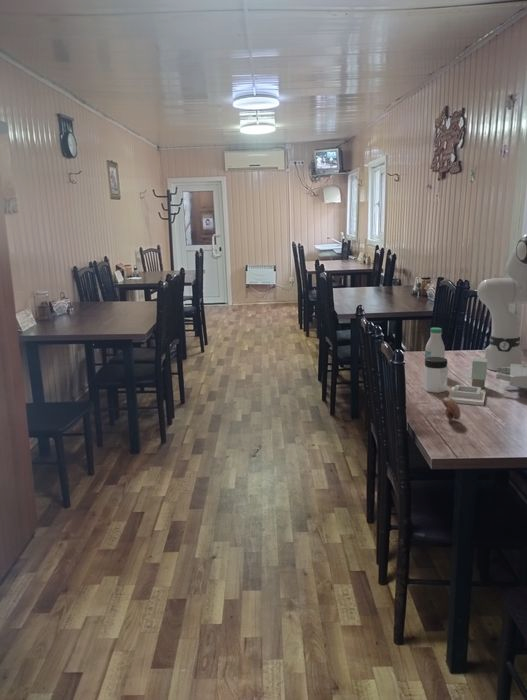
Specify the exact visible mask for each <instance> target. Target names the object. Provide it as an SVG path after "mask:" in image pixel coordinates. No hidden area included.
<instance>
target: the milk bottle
mask: <svg viewBox="0 0 527 700" xmlns="http://www.w3.org/2000/svg"><path fill="white" fill-rule="evenodd" d="M429 331H430V333H429V334H430V335H429V336H430V337H429V339H428V341H427V343H426V345H425V349H424V350H425V351H424V352H425V353H424V359H425V358H427V357H442V358H445V354H446V353H445V351H446V349H445V344H444V341H443V339H442V334H443V328H441V327H430V330H429Z"/></svg>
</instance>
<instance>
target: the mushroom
mask: <svg viewBox="0 0 527 700" xmlns="http://www.w3.org/2000/svg"><path fill="white" fill-rule="evenodd" d="M441 402H442V404H443V406H444V407H445V416H446V418H447V419H448V421H449V422H451V421H453V420H459V419H460V418H461V410H460V407H459V405H458V403H456V402H455V401H454V400H453V399H452V398H449V397H448V396H445V397H443V398H442V400H441Z"/></svg>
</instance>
